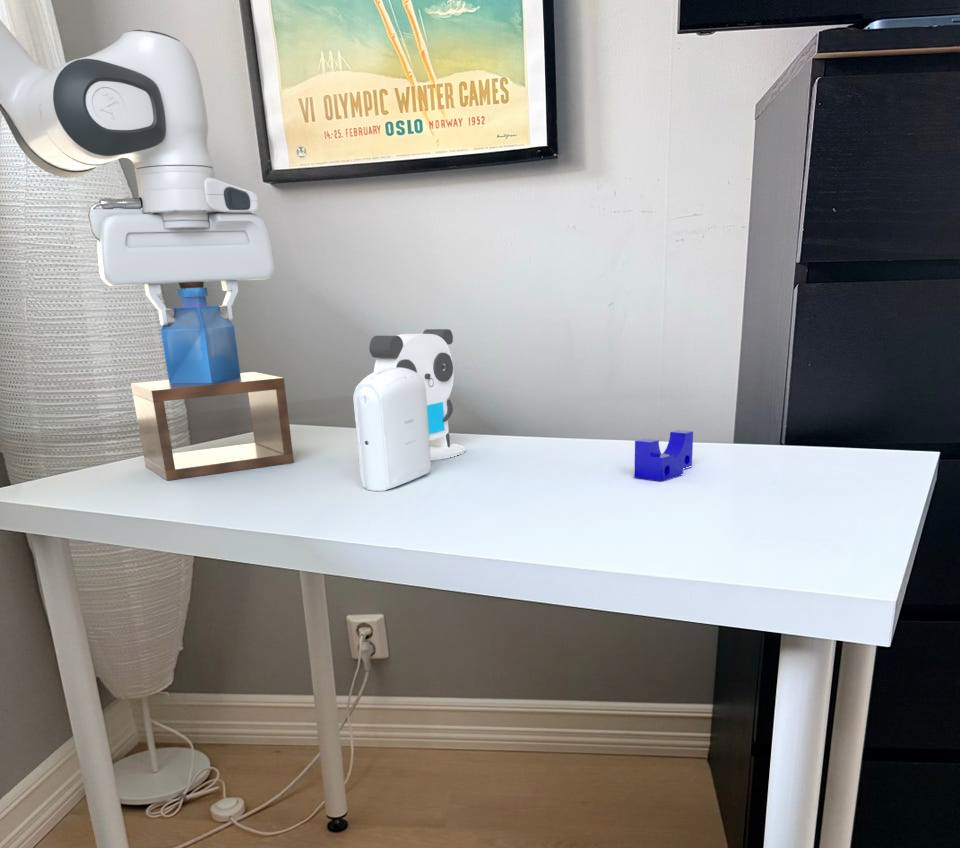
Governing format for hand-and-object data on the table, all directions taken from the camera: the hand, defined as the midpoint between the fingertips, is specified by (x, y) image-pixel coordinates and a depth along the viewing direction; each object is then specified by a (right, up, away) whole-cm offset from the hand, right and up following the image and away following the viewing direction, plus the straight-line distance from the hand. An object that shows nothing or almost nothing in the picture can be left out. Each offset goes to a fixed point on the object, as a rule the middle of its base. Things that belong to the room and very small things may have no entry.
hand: (197, 323), depth 113 cm
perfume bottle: (0, -6, +3) cm, 7 cm away
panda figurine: (+27, -15, +7) cm, 31 cm away
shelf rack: (+1, -16, +6) cm, 17 cm away
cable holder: (+55, -20, -11) cm, 60 cm away
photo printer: (+25, -21, -9) cm, 34 cm away
